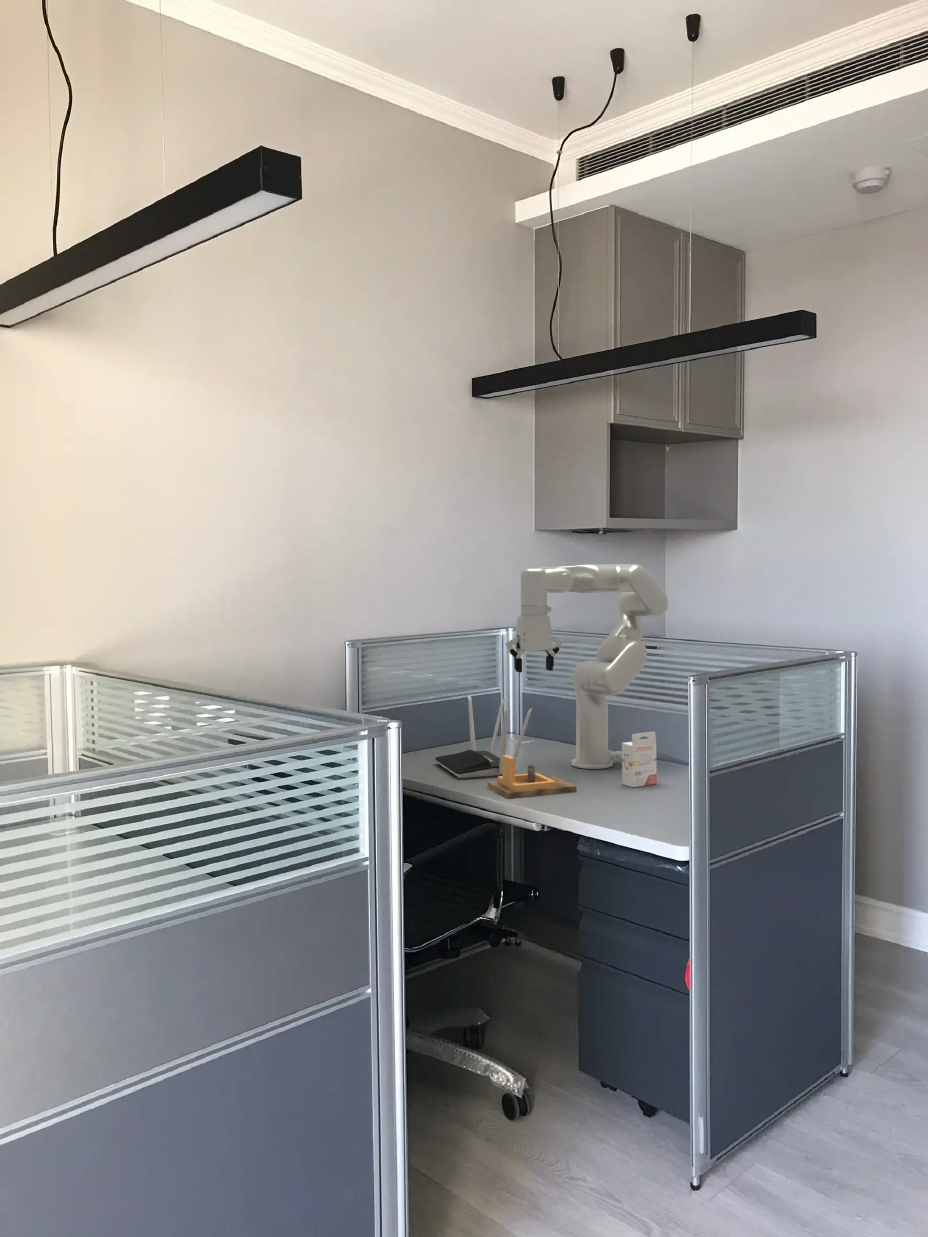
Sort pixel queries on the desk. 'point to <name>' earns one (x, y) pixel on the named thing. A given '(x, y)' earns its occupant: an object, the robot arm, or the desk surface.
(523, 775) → the link
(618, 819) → the desk surface
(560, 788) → the wooden peg board
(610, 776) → the desk surface
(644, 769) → the ink cartridge box
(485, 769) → the wireless router
